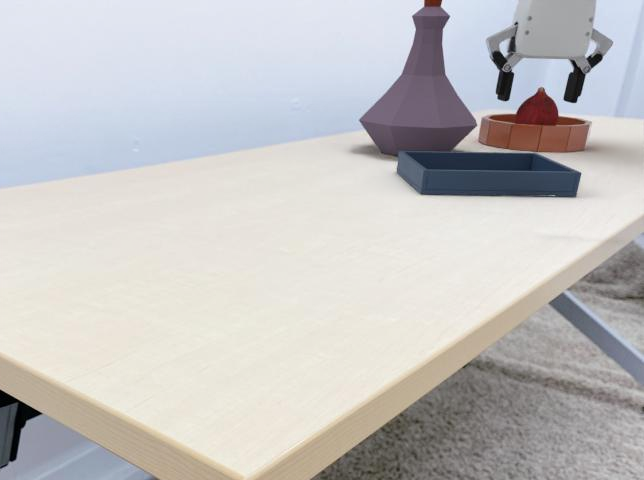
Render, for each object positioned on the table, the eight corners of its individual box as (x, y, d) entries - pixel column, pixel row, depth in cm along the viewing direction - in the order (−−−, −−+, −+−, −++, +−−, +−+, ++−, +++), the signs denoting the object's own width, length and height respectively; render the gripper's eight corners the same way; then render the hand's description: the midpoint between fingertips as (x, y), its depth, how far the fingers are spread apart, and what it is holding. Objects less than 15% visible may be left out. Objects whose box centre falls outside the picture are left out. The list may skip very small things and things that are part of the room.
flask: (494, 151, 99) (521, -7, 91) (447, 167, 88) (474, -12, 80) (386, 139, 109) (402, -5, 101) (331, 152, 98) (345, -9, 89)
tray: (531, 174, 84) (536, 152, 83) (576, 196, 73) (581, 172, 72) (396, 172, 85) (398, 150, 84) (420, 194, 74) (423, 170, 73)
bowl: (560, 137, 112) (565, 114, 111) (604, 152, 99) (610, 126, 97) (467, 135, 113) (470, 113, 111) (498, 151, 99) (503, 125, 98)
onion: (559, 147, 103) (571, 89, 100) (520, 146, 103) (531, 88, 100) (542, 140, 108) (553, 85, 105) (504, 140, 108) (514, 85, 105)
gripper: (615, -28, 100) (584, 99, 107) (490, -30, 100) (468, 96, 107) (643, -31, 93) (608, 105, 100) (509, -33, 93) (484, 102, 101)
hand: (536, 101), depth 104 cm, fingers open, 9 cm apart
